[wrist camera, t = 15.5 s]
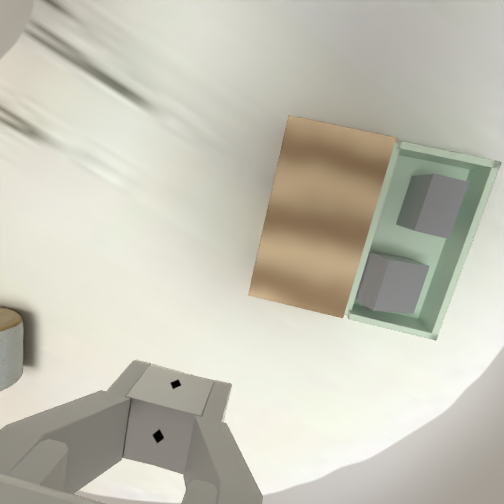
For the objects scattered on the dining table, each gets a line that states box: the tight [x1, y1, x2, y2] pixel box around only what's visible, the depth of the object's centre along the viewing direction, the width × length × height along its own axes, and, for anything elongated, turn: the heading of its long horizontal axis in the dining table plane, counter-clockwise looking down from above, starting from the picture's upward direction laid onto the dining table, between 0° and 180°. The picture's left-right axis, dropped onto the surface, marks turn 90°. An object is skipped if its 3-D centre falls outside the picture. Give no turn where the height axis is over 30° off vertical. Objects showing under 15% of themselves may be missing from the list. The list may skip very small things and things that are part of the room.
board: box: [248, 115, 396, 318], centre depth 33 cm, size 18×10×3 cm, turn 168°
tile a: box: [396, 174, 469, 239], centre depth 30 cm, size 5×5×3 cm
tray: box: [344, 141, 501, 340], centre depth 32 cm, size 17×9×4 cm, turn 168°
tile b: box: [355, 251, 430, 314], centre depth 32 cm, size 5×5×3 cm
